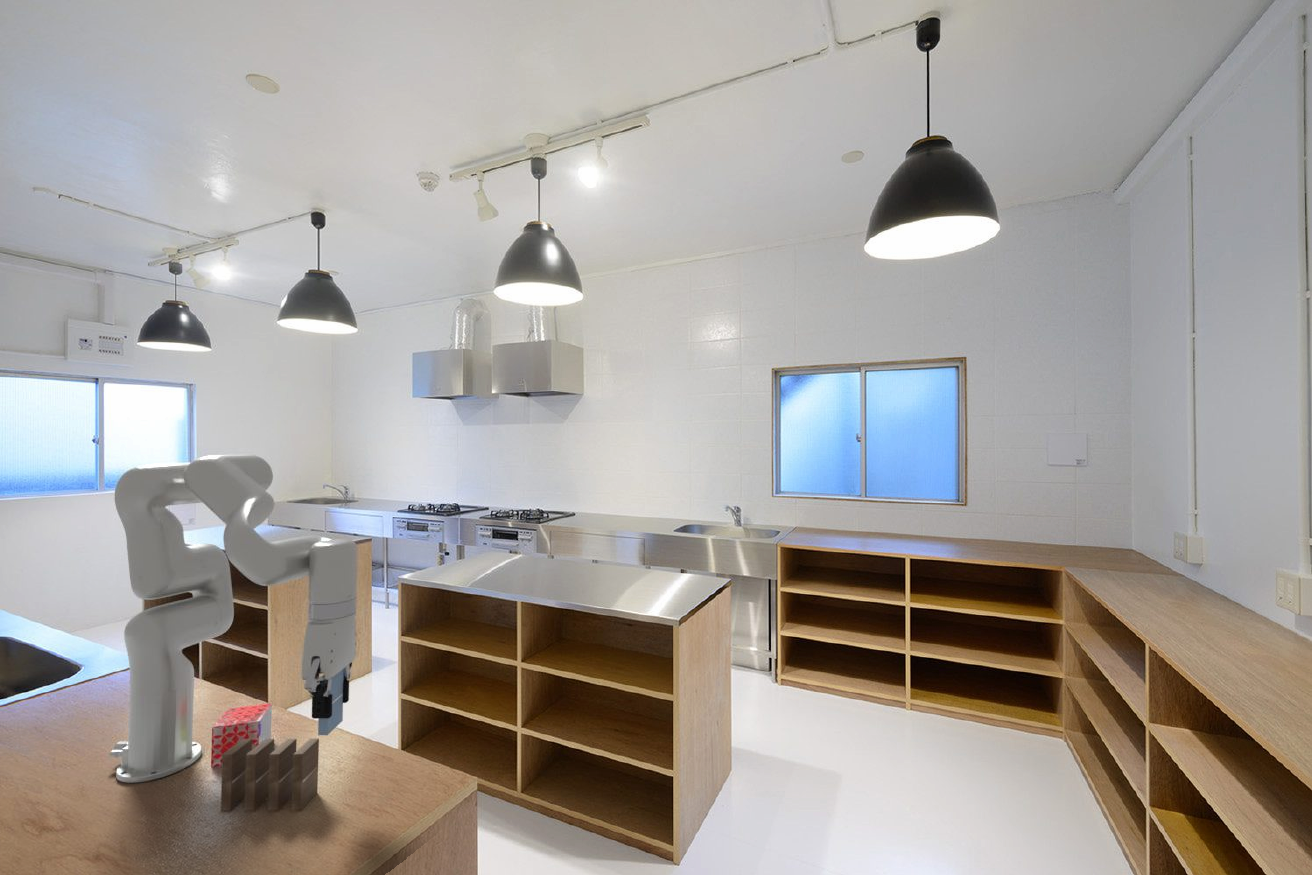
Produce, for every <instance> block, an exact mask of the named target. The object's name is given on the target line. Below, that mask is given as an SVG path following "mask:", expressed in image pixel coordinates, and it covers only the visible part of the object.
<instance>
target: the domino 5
mask: <svg viewBox="0 0 1312 875" xmlns="http://www.w3.org/2000/svg"><path fill="white" fill-rule="evenodd" d="M321 677H324V674H323V675H322V676H321ZM343 678H344V670H343V669H342V670H341V671H340V672H339V673H337V674H336V675H335V676H333V677H332V683H331V690H330V694H332V716H331V717H330V718H318V721H317V722H318V724H317V730H318V733H317V736H328V735H329V734H330V733H332V731H334V729H336V728H337V727H338V725H340V724H341V723H342V722H343V720H344V719H343V716H344V715H343V714H344V703H343ZM319 684H321V685H323V687H325V681H319Z"/></svg>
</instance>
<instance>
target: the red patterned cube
mask: <svg viewBox="0 0 1312 875" xmlns="http://www.w3.org/2000/svg"><path fill="white" fill-rule="evenodd" d="M272 706H273V703H272V702H270V703H264V704H256V705H248V706H247V705H246V706H241V707H240V706H239V707H231V708H227V709H226V711H224V712H223V714H222V715H221V716H220V717H219V719H218V720H217V721H216V722H215V723H214V725H212V727H211V731H212V732H211V750H210V752H211V754H210V755H211V756H210V758H211V759H210V767H211V768H212V767H219V765H220V766H222V755H223V754H224V753H225V752H227V751H228V750H229V749H230V748H232V747H233V746H234V745H236V744H237V743H238V742H240V741H241V740H242V739H252V749H254V748H255V747H256V746H257V745H258V744H260V743H261V742H262V741H263V740H265V739H272V713H273V712H272V711H273V707H272Z"/></svg>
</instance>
